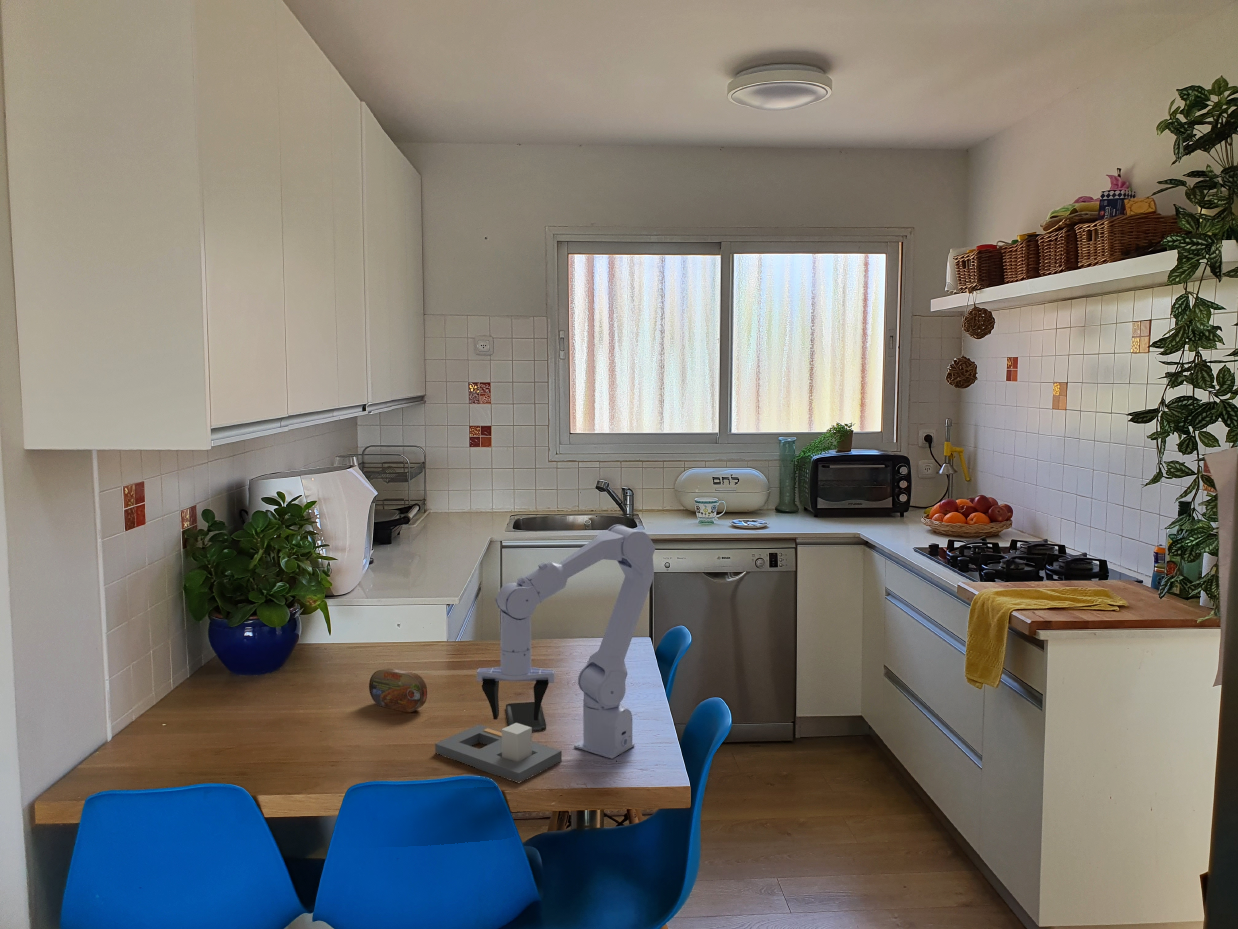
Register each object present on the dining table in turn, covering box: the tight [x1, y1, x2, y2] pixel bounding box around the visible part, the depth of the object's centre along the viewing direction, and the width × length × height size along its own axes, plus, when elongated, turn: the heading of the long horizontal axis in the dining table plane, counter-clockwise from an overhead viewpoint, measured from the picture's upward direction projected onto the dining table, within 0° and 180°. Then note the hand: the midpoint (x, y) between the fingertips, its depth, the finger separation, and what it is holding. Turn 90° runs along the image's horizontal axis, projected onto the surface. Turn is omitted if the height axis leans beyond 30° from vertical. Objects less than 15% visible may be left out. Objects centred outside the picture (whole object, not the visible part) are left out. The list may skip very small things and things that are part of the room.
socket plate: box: [434, 724, 563, 782], centre depth 171 cm, size 22×12×2 cm, turn 54°
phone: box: [505, 701, 547, 733], centre depth 191 cm, size 8×1×15 cm
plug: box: [501, 723, 533, 762], centre depth 168 cm, size 4×4×7 cm
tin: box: [368, 668, 428, 713], centre depth 197 cm, size 15×3×8 cm, turn 62°
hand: (516, 718), depth 167 cm, fingers open, 7 cm apart
